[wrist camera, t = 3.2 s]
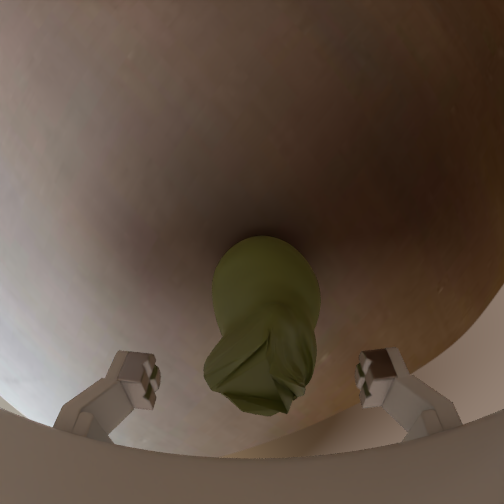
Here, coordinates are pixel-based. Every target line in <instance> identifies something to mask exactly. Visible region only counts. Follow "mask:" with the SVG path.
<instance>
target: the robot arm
mask: <svg viewBox="0 0 504 504" xmlns="http://www.w3.org/2000/svg"><path fill="white" fill-rule="evenodd" d="M359 360H360V363H359V364H357V365H356V369H355V382H356V386H357V388H359V389H360V390H361V391H360V394H359V397H360V401H361V405H362V408H369V407H377V406H382V407H383V409H384V410H385V411H386V412H387V413H388V414H390V415H391V416H392V417H393V418H394V419H395V420H396V421H397V422H398V423H399V424H400V425H401V426H402V427H403V428H404V429H405V430H406V431H407V432H408V434H407V435H406V436H405V438H404V439H403V441H402V442H400V443H396V444H391V445H386V446H381V447H376V448H371V449H364V450H359V451H352V452H345V453H337V454H329V455H319V456H307V457H293V458H267V459H266V458H265V459H240V458H214V457H200V456H188V455H179V454H170V453H163V452H155V451H149V450H143V449H137V448H131V447H126V446H121V445H116V444H114V443H113V441H112V440H111V439H110V438H109V436H108V434H109V433H110V432H111V431H112V430H113V429H114V428H115V427H116V426H117V425H119V424H120V423H121V422H122V421H123V420H124V419H125V418H126V417H127V416H128V415H129V414H130V413H131V412H132V411H133V410H134V408H137V409H146V410H153V408H154V404H155V401H156V395H155V392H156V391H157V390H158V389H159V386H160V380H161V376H160V370H159V367H157V366H156V365H155V362H156V359H155V356H154V354H149V353H140V352H131V351H130V352H129V351H121V350H119V351H118V352H117V353H116V355H115V357H114V359H113V362H112V364H111V366H110V368H109V370H108V373H107V375H106V377H105V379H104V378H101V379H100V380H99V381H97V382H96V383H94V384H93V385H92V386H90V387H89V388H87V389H86V390H84V391H83V392H82V393H80V394H79V395H77V396H76V397H74V398H73V399H72V400H70V401H69V402H67V403H66V404H64V405H63V406H62V408H61V411H60V413H59V415H58V417H57V419H56V421H55V424H54V426H53V427H50V426H47V425H44V424H41V423H38V422H35V421H32V420H30V419H27V418H24V417H22V416H19V415H17V414H14V413H12V412H9V411H7V410H5V409H3V408H0V504H504V409H502V410H500V411H498V412H495V413H493V414H490V415H488V416H485V417H483V418H480V419H477V420H475V421H472V422H469V423H467V424H464V425H463V424H462V422H461V420H460V418H459V415H458V413H457V411H456V409H455V407H454V404H453V402H451V401H450V400H448V399H447V398H446V397H444V396H443V395H441V394H440V393H438V392H437V391H435V390H434V389H433V388H431V387H430V386H428V385H427V384H425V383H424V382H422V381H421V380H419V379H418V378H417V377H415V376H414V375H410V374H409V372H408V370H407V368H406V365H405V363H404V361H403V359H402V357H401V354H400V352H399V350H398V348H397V347H392V348H385V349H375V350H367V351H361V353H360V355H359Z"/></svg>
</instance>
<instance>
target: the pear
mask: <svg viewBox="0 0 504 504" xmlns="http://www.w3.org/2000/svg"><path fill="white" fill-rule="evenodd" d="M212 301H213V307H214V312H215V316H216V320H217V323H218V326H219V329H220V332H221V334H222V336H223V337H222V339H221V340H220V341H219V343H218V344H217V345H216V346H215V347H214V349H213V350H212V352H211V353H210V355H209V356H208V357H207V359H206V362H205V364H204V369H203V371H204V378H205V380H206V382H207V384H208V385H209V387H210V389H211V390H212V391H215V392H218V393H221V394H223V395H224V396H225V397H226V398H228V399H229V400H230V401H231V402H232V403H233V404H234V405H235V406H237V407H238V408H239V409H240V410H241V411H242V412H247V413H252V414H255V415H256V414H258V415H263V416H272V415H274V414H276V413H278V412H282V413H285V414H287V413H288V411H289V409H290V406H291V403H292V400H293V401H294V400H295V399H296V398H297V397H299V396H302V395H304V393H305V386H306V385H307V384H308V383H309V381H310V380H311V378H312V375H313V371H314V367H315V362H316V354H317V348H316V339H315V334H314V329H315V327H316V324H317V320H318V316H319V312H320V303H321V297H320V289H319V285H318V281H317V278H316V276H315V274H314V272H313V270H312V268H311V266H310V265H309V263H308V262H307V260H306V259H305V258H304V257H303V255H302V254H301V253H300V252H299V251H298V250H297V249H295V248H294V247H293V246H291V245H290V244H288V243H287V242H285V241H283V240H281V239H278V238H275V237H271V236H254V237H250V238H247V239H245V240H242V241H240V242H239V243H237V244H236V245H234V246H233V247H232V248H230V249H229V250H228V251H227V252H226V253H225V254H224V256H223V257H222V258H221V260H220V261H219V263H218V265H217V267H216V269H215V272H214V275H213V280H212Z"/></svg>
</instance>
